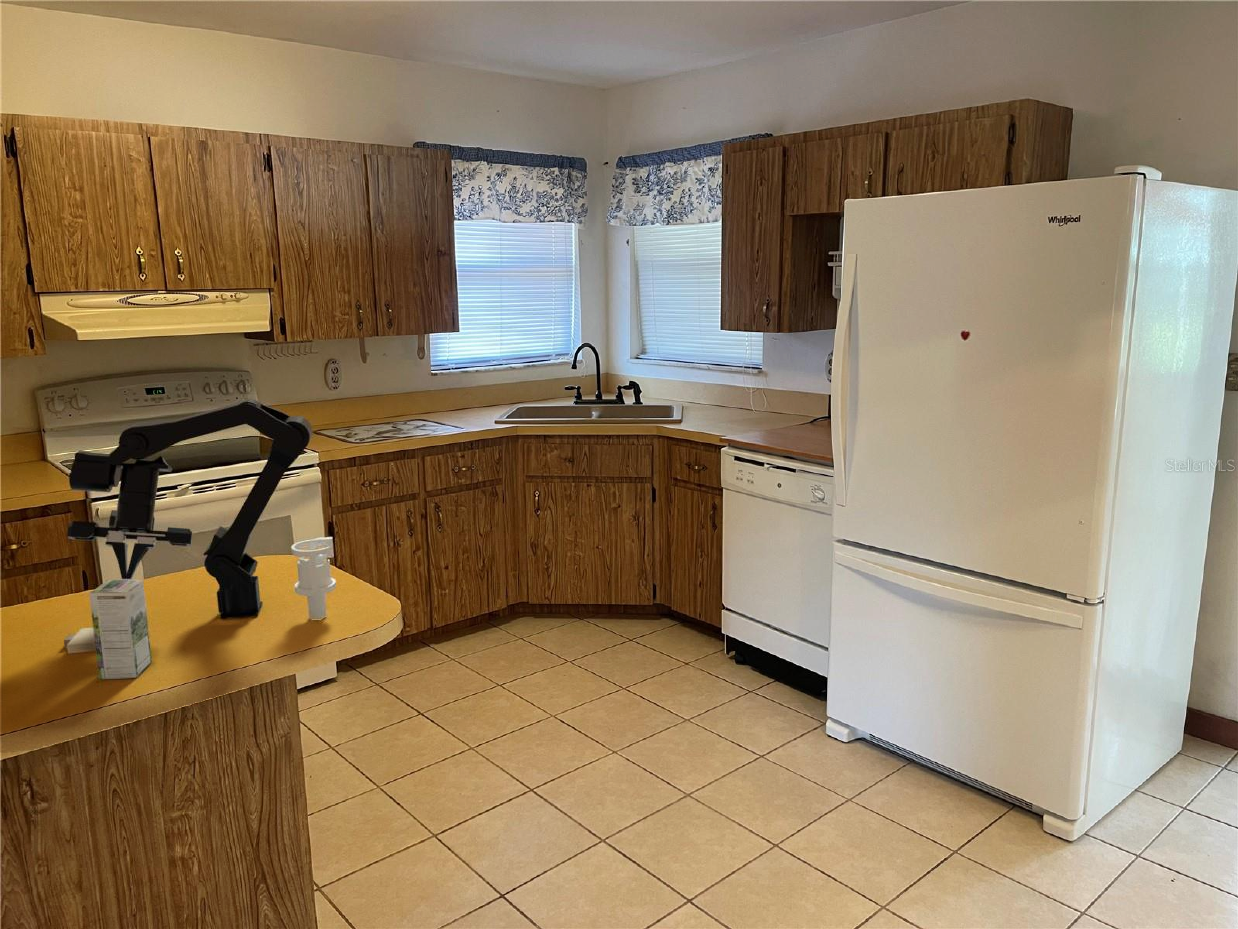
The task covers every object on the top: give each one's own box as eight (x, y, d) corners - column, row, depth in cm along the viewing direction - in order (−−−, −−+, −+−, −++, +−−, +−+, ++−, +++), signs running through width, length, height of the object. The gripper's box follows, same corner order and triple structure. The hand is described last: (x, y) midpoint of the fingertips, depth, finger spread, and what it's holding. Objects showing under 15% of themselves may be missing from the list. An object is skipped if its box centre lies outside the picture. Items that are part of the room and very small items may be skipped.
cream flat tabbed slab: (139, 631, 157) (138, 623, 156) (127, 648, 150) (126, 639, 150) (74, 637, 154) (73, 629, 154) (59, 654, 148) (58, 645, 147)
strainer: (338, 622, 161) (332, 543, 157) (296, 627, 159) (289, 546, 155) (338, 608, 167) (332, 531, 164) (298, 612, 165) (291, 535, 162)
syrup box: (115, 664, 144) (104, 579, 141) (153, 662, 145) (143, 578, 141) (98, 680, 138) (86, 592, 135) (138, 678, 139) (127, 591, 136)
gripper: (197, 504, 167) (187, 588, 164) (82, 495, 159) (69, 583, 156) (196, 497, 157) (185, 586, 154) (73, 487, 149) (59, 581, 146)
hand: (125, 584), depth 153 cm, fingers closed
